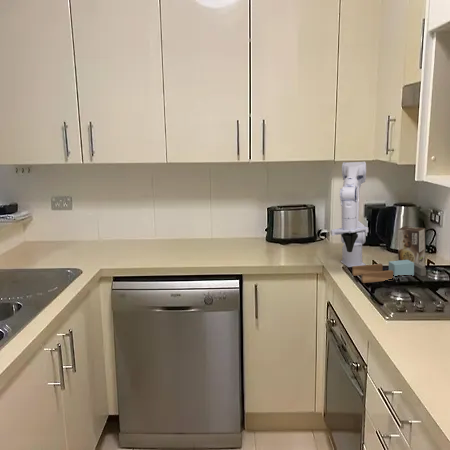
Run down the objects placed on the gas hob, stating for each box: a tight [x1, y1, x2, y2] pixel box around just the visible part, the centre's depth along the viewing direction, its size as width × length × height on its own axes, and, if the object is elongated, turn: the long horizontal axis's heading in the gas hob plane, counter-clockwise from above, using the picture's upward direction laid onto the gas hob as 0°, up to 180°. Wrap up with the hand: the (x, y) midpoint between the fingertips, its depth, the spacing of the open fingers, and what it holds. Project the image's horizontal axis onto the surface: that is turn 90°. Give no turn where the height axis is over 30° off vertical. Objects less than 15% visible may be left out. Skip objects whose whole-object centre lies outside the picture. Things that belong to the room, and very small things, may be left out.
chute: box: [351, 263, 394, 284], centre depth 185 cm, size 11×12×4 cm
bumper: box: [414, 263, 427, 277], centre depth 188 cm, size 8×2×3 cm, turn 7°
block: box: [388, 260, 415, 276], centre depth 187 cm, size 5×8×5 cm, turn 97°
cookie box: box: [397, 225, 426, 267], centre depth 195 cm, size 9×6×16 cm
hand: (349, 251), depth 186 cm, fingers closed
